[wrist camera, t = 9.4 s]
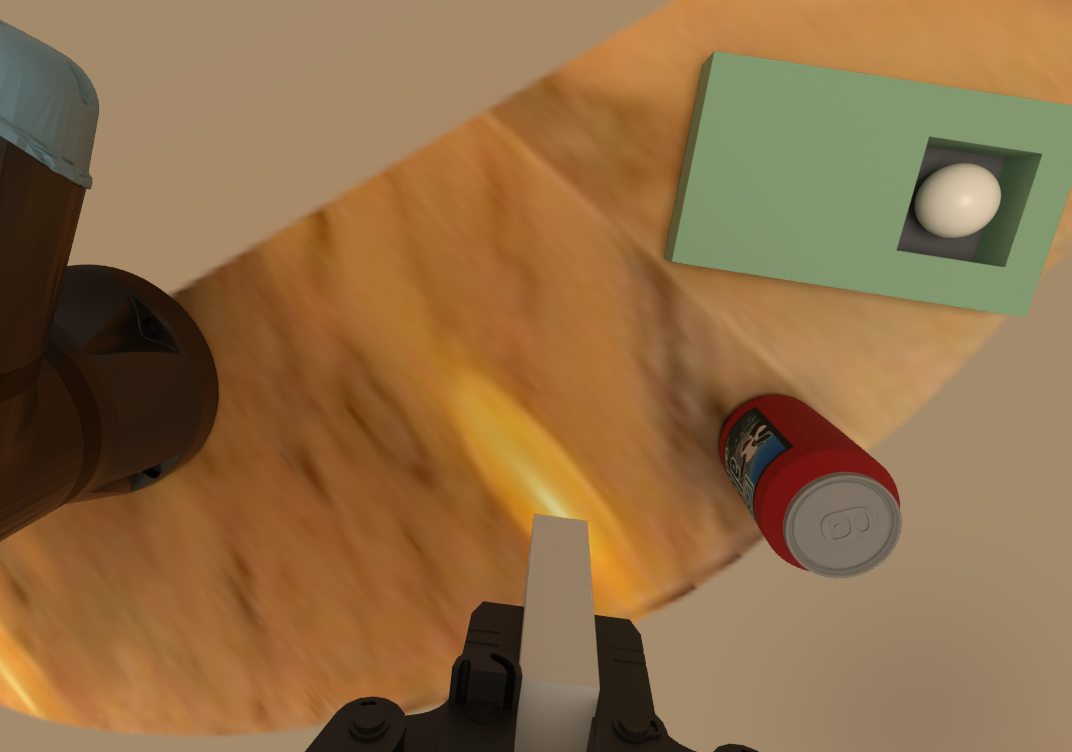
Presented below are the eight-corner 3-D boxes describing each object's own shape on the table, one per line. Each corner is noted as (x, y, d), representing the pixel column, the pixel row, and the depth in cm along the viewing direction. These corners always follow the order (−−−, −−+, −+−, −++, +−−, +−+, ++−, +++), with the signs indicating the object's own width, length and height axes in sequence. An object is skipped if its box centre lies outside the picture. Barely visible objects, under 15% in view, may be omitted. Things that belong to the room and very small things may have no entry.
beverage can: (705, 407, 42) (756, 482, 30) (810, 378, 41) (904, 444, 29) (729, 500, 43) (786, 605, 32) (831, 474, 42) (929, 573, 31)
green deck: (663, 258, 40) (671, 261, 36) (702, 64, 37) (714, 50, 34) (990, 309, 39) (1025, 317, 36) (1053, 118, 36) (1098, 109, 33)
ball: (904, 233, 39) (906, 230, 35) (925, 164, 38) (928, 154, 34) (982, 244, 37) (991, 242, 34) (1005, 172, 36) (1017, 162, 33)
